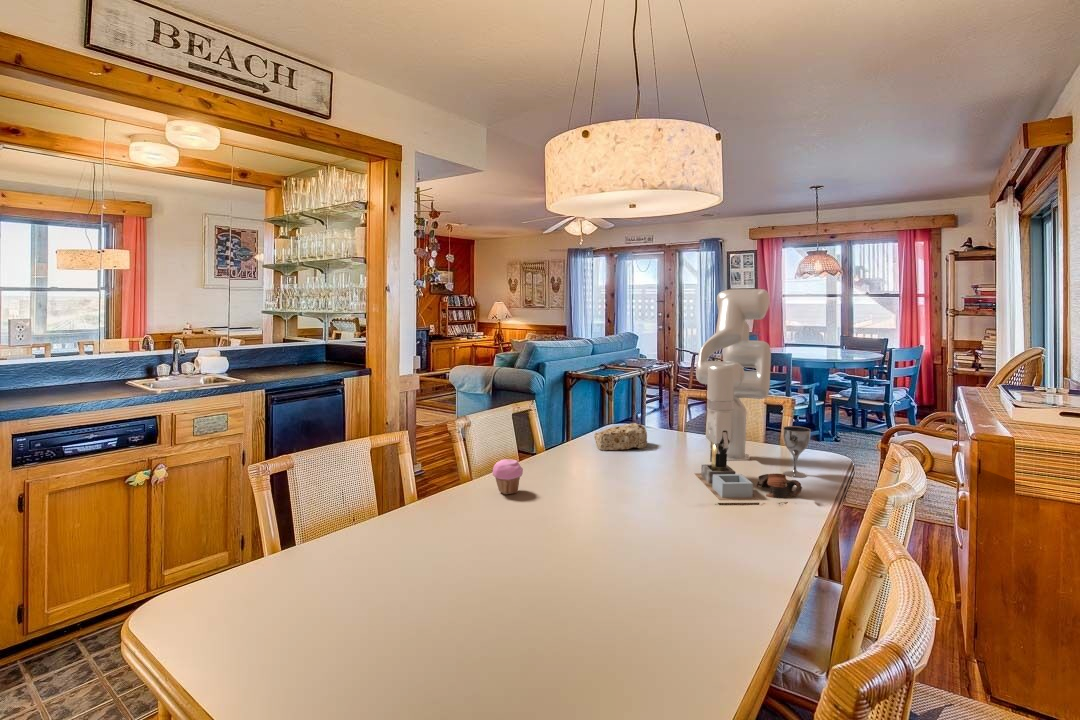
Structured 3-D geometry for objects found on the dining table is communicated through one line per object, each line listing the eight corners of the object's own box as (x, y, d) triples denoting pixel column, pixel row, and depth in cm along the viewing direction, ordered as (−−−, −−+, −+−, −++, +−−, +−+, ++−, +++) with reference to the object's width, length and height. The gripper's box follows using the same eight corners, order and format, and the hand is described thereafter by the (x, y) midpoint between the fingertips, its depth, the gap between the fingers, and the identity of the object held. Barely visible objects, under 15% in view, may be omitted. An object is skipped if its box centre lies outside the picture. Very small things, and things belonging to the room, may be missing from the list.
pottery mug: (755, 503, 155) (751, 474, 159) (764, 508, 163) (760, 480, 166) (802, 499, 149) (796, 469, 153) (808, 505, 157) (803, 476, 160)
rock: (601, 455, 207) (597, 428, 208) (593, 454, 221) (589, 429, 223) (654, 447, 210) (649, 420, 211) (642, 446, 224) (638, 421, 225)
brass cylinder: (709, 477, 172) (710, 439, 171) (722, 477, 172) (723, 439, 171) (713, 481, 168) (714, 442, 167) (726, 481, 168) (727, 442, 167)
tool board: (694, 478, 176) (694, 462, 176) (728, 477, 176) (729, 462, 176) (719, 505, 152) (720, 487, 152) (759, 505, 153) (760, 487, 152)
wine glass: (793, 479, 175) (795, 432, 173) (776, 471, 183) (777, 426, 181) (814, 476, 177) (816, 430, 176) (796, 469, 185) (798, 425, 183)
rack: (712, 487, 162) (712, 474, 162) (741, 487, 163) (741, 474, 162) (722, 497, 154) (722, 483, 154) (752, 497, 154) (752, 483, 154)
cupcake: (527, 494, 162) (527, 460, 161) (500, 499, 158) (500, 465, 157) (514, 485, 170) (513, 453, 169) (487, 490, 165) (487, 457, 164)
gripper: (699, 400, 176) (697, 457, 178) (716, 410, 160) (715, 472, 161) (722, 400, 176) (721, 457, 178) (742, 410, 160) (740, 472, 162)
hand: (718, 463), depth 170 cm, fingers closed on brass cylinder, 4 cm apart
